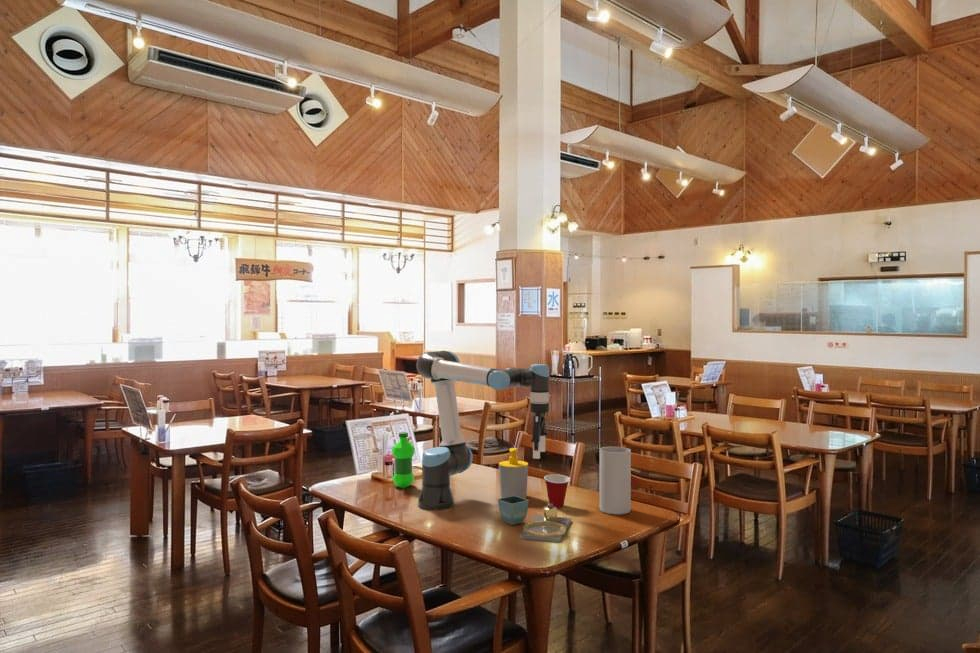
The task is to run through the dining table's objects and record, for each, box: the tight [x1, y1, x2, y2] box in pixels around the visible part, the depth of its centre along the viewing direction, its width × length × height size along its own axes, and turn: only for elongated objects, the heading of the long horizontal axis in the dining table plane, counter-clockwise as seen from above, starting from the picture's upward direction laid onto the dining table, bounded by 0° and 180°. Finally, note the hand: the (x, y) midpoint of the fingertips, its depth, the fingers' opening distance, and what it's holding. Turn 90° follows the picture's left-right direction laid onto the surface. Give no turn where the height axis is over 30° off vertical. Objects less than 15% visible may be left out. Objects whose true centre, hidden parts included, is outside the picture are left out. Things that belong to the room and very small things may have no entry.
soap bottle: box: [498, 447, 529, 499], centre depth 284 cm, size 13×13×21 cm
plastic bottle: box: [391, 431, 416, 489], centre depth 302 cm, size 10×10×25 cm
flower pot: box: [497, 496, 530, 526], centre depth 247 cm, size 9×9×9 cm
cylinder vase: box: [598, 446, 632, 516], centre depth 263 cm, size 12×12×25 cm
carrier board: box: [520, 502, 572, 543], centre depth 239 cm, size 15×25×8 cm, turn 164°
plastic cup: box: [543, 474, 571, 509], centre depth 269 cm, size 11×11×12 cm
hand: (539, 454), depth 260 cm, fingers open, 13 cm apart
